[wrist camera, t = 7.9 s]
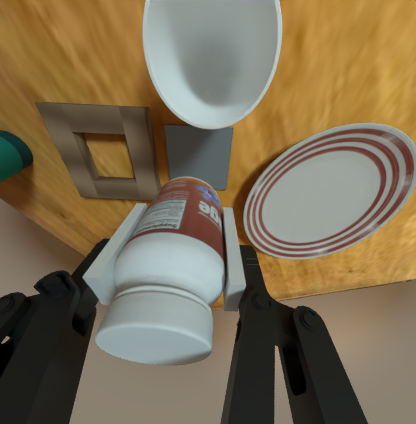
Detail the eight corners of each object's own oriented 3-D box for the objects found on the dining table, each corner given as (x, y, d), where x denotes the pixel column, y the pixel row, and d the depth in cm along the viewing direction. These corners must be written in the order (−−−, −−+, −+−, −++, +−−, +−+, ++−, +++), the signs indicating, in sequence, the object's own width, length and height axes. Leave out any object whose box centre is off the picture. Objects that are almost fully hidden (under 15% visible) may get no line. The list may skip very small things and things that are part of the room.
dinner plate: (425, 192, 29) (448, 201, 26) (294, 264, 42) (299, 276, 39) (352, 67, 19) (375, 62, 17) (212, 210, 32) (212, 221, 30)
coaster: (164, 124, 23) (164, 124, 23) (233, 127, 23) (233, 128, 23) (171, 186, 29) (170, 187, 29) (225, 189, 29) (225, 190, 29)
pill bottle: (226, 222, 17) (242, 368, 8) (172, 232, 18) (128, 371, 9) (212, 166, 13) (210, 310, 4) (145, 182, 14) (28, 326, 5)
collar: (48, 102, 22) (35, 102, 20) (148, 107, 22) (143, 108, 20) (88, 191, 30) (81, 197, 29) (161, 195, 30) (158, 200, 29)
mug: (256, 96, 21) (294, 93, 11) (197, 127, 23) (186, 148, 14) (223, -43, 15) (242, -309, 5) (148, 19, 17) (64, -85, 8)
